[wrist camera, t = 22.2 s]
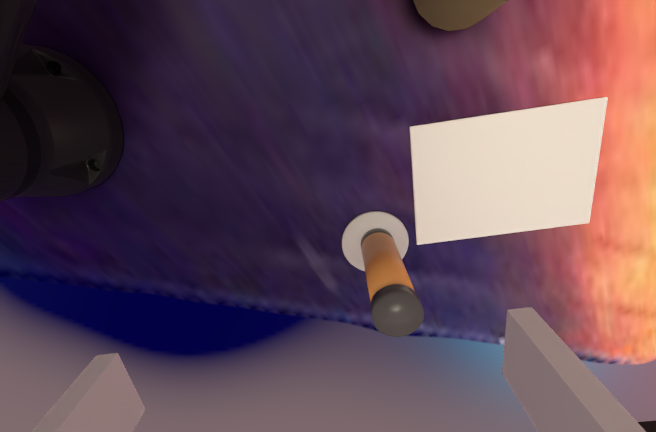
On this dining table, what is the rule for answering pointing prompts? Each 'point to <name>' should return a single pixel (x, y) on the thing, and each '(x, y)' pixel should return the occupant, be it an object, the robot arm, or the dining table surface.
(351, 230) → the coaster
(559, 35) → the dining table surface
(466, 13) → the squeeze bottle
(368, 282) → the thermos bottle
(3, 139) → the robot arm
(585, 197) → the paper
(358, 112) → the dining table surface
